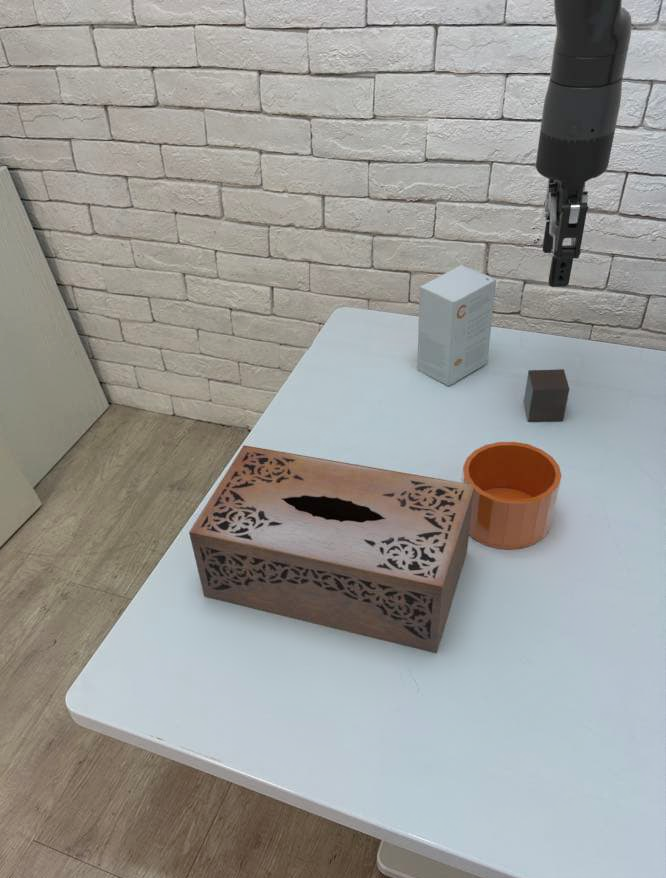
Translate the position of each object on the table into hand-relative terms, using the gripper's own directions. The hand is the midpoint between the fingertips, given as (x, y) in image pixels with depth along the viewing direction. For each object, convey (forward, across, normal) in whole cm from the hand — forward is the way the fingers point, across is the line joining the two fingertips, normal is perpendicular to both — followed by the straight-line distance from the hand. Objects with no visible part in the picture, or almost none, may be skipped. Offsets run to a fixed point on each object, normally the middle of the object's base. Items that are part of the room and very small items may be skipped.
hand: (554, 267), depth 96 cm
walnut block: (+17, -5, -1) cm, 18 cm away
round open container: (+17, -26, +5) cm, 31 cm away
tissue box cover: (+18, -36, +24) cm, 46 cm away
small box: (+18, +5, +11) cm, 21 cm away
